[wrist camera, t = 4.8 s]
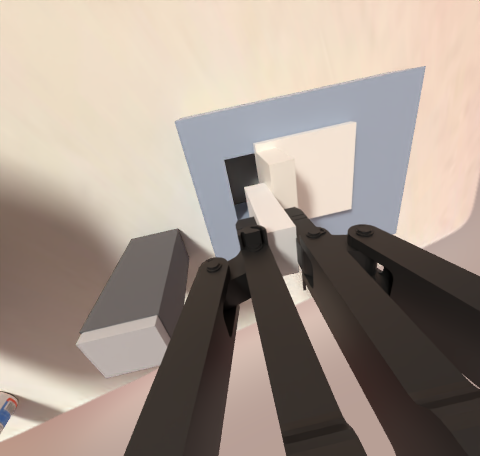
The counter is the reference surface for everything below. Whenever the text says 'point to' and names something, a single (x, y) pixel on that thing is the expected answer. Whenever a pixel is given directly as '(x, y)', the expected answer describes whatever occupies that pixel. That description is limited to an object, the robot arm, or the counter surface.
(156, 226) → the counter surface
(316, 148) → the shutter
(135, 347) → the plug
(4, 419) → the pill bottle
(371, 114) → the socket board
